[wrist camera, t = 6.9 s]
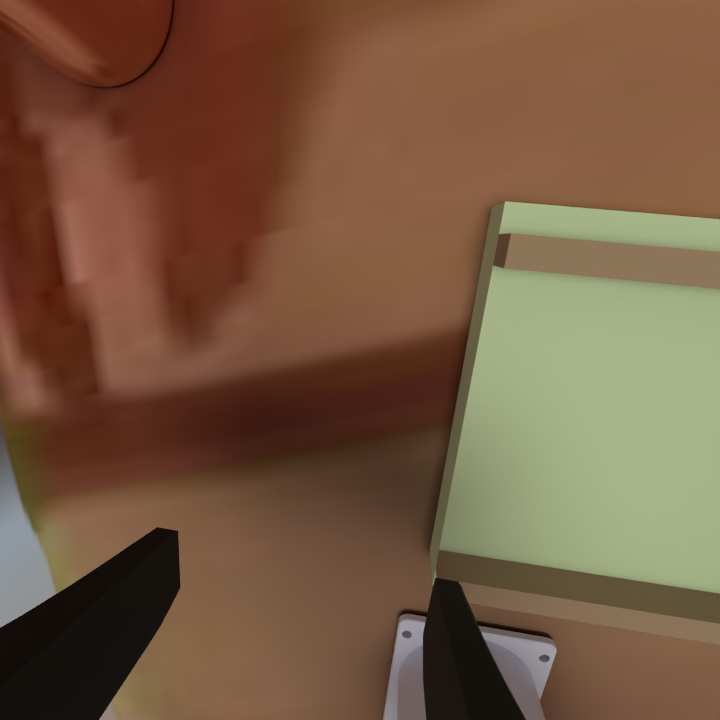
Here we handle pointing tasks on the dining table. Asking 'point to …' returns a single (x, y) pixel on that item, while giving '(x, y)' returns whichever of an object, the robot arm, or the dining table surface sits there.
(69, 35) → the silver metal tumbler
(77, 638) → the robot arm
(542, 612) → the putting board
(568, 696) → the dining table surface
